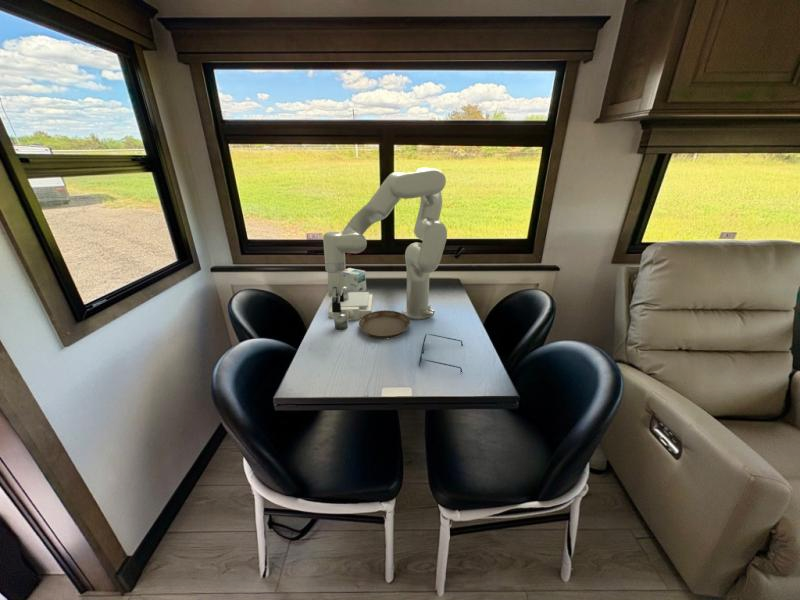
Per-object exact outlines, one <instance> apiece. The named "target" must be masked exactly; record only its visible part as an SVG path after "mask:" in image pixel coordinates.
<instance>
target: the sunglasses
mask: <svg viewBox="0 0 800 600" xmlns="http://www.w3.org/2000/svg"><path fill="white" fill-rule="evenodd" d="M427 335H429V336H434V337H437V338H443V339H449V340H453V341H457V342H460V346H461V347H463V346H464V344H463V341H462V340H459V339H456V338H451V337H448V336H447V337H446V336H442V335H436V334H429V333H425V335H424V338H423V343H422V346H421V347H422V348H421V351H420V357H419V361H418V367H420V366H421V362H422V360H423V361H425V362H430V363H434V364H440V365H443V366H449V367H453V368H458V369H460V373H461V372H462V373H463V369H462V367H461V366H457V365H453V364H448V363H443V362H438V361H433V360H429V359H423V354H424V355H425V347H424V345H425V343H426V338H427Z"/></svg>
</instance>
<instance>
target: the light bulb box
mask: <svg viewBox="0 0 800 600" xmlns="http://www.w3.org/2000/svg"><path fill="white" fill-rule="evenodd" d="M343 277H344V285H347V286H348V292H367V280H366V279H367V277H366V270H362V269H356V268H352V267H348V268H346V270H344V271H343Z"/></svg>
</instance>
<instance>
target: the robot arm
mask: <svg viewBox="0 0 800 600" xmlns="http://www.w3.org/2000/svg"><path fill="white" fill-rule="evenodd" d="M446 183H447V178H446V175H445V173H443V171H442V170H440V169H438V168H433V167H432V168H430V167H418V168H417V169H416V170H415V171H414V172H401V171H393V172H391V173H390V174H389V175H388V176H387V177H386V178H385V179H384V180H383V182H382V184H381V185H380V186H379V188H378V189H377V190H376V191H375V192H374V194H373V196H372V197H371V198H370V200H369V201H368V202H367V203H366V204H365V205H364V206H363V207H361V208H360V209H359V210H358V211H357V212H356V213H355V214H354V215H353V216H352V218H351V219H350V220H349V222H348V223H347V224H346V225H345V227H344V228H343V230H342V232H340V231H329V232H325V233H324V234H323V235H322V236H323V237H322V241H323V253H324V256H323V257H324V266H325V267H324V268H325V271H326V272H327V289H328V291H327V293H328V294H327V295H328V297H331V305H332V312H333V313H340V312H341V304H340V302H344V294H343V289H344V277H343V271H344V270H346V269H347V268H346V267H347V266H346V254H347V253H349V254H350V253H351V254H356V253H357V254H360V253H361V252H363V251H365V249H366V248H367V244H368V242H367V239H366V236H364V234H365V233H366V232H367V230H368V229H369V228H370V227H371V226H372V225H374V224H375V223H378V222H381V221H382V220H384V219H387V217H388V216H389V215H390V214H391V213H392V211H393V210H394V208H395V207H396V206H397V204H398V203H399V202H400V201H401V200H402V199H403V200H410V199H416V198H420V199H419V201H420V202H419V203H420V204H419V208H418V212H417V216H416V221H415V223H414V229H413V231H414V235H415V237H416V238H417V239H418V240H420V241H422V242H417V241H416V242H413V243H410V244H409V245H408V246H407V247H406V249H405V252H404V258H405V259H404V260H405V267H406V307H404V308H403V310H402V314H404V315H406V316H407V317H408V318H409V320H419V321H421V320H426V319H428V318H430V317H431V318H433V317H434V315H435V312H436V311H435V309H432V308H431V305H430V304H429V298H430V297H429V295H430V294H429V292H430V273H433V272H434V271H436V270H437V268H439V267H438V266H439V265H440V263H441V260H442V256H443V253H444V249H445V247H446V246H445V245H446V243H447V238H448V229H447V227H446V225H445V224H444V223H443V222H442V221H440V217H441V212H442V208H443V195H442V191H443V190H444V189H445V186H446Z"/></svg>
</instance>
